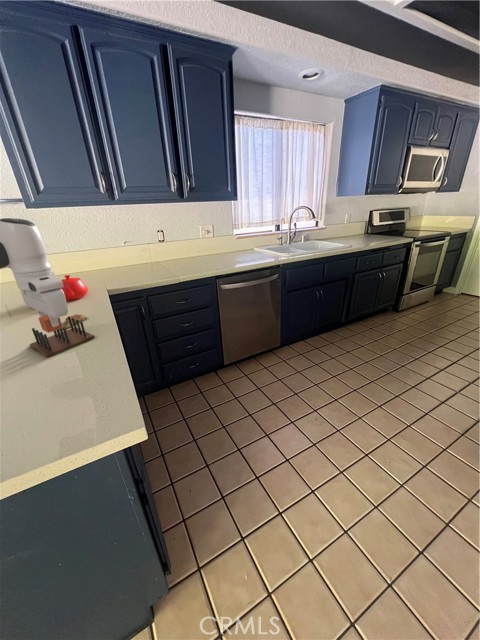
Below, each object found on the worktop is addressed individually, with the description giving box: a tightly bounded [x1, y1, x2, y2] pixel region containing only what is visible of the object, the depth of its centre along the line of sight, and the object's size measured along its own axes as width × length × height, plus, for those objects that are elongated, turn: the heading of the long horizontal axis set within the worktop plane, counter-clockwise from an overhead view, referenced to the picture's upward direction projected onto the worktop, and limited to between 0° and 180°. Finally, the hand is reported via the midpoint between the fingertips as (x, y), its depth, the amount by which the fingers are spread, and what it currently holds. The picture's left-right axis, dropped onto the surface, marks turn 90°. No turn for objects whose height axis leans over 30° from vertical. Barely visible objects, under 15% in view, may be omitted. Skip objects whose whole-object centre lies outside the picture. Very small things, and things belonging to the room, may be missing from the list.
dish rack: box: [29, 315, 95, 358], centre depth 96 cm, size 16×14×7 cm
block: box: [38, 315, 63, 333], centre depth 80 cm, size 4×4×4 cm
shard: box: [64, 313, 88, 329], centre depth 113 cm, size 11×8×2 cm
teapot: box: [60, 274, 89, 301], centre depth 142 cm, size 25×16×12 cm, turn 26°
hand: (51, 324), depth 80 cm, fingers closed on block, 4 cm apart
